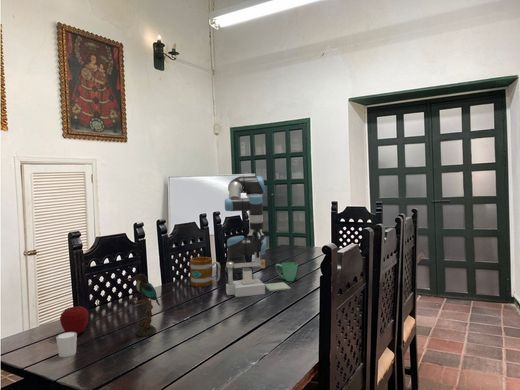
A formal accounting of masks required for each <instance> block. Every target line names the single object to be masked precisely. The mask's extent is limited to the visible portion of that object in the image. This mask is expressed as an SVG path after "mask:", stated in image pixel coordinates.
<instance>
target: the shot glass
mask: <svg viewBox="0 0 520 390" xmlns="http://www.w3.org/2000/svg"><path fill="white" fill-rule="evenodd" d="M77 336H78V334H77V333H75V332H66V333H65V332H63V333H60V334H58V335H56V337H55V338H56V345H57V352H58V356H59V357H60V358H69V357H72V356H74V355H75V354H76V353H77V341H78V340H77Z"/></svg>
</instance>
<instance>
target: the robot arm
mask: <svg viewBox="0 0 520 390" xmlns="http://www.w3.org/2000/svg"><path fill="white" fill-rule="evenodd" d="M265 188H266V187H265V182H264V177H262V176H260V175H249V176H248V175H245V176H244V175H243V176H241V175H240V176H237V177H235V178H233V179H232V180H230V182H229V183H228V186H227V190H228V198H224V210H225V211H226V212H244V211H245V212H248V221H249V222H248V226H249V228H248V229H249V232H248V234H247V236H246V237H245V236H244V235H235V236H231V237H229V238H228V239H227V240H226V242H227V243H226V246H227V247H226V248H227V260H226V263H227V262H234V264H237V263H247V261H246V256H254V262H260V260H261V255H265V253H266V251H267V250H266V248H267V237H265V234H264V233H263V229H264V223H263V222H264V214H263V213H264V211H263V210H264V209H263V207H264V206H263V202H264V201H263V196H264V193H266V189H265ZM241 194H245V196H246V198H245V197H244V198H243V197H241ZM243 268H249V267H240V268H234V267H232V272H233V274H241V273H242V274H243ZM224 271H225V273H227V274H228V268H227V267H226V266H225V270H224Z"/></svg>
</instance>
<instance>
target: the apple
mask: <svg viewBox="0 0 520 390" xmlns="http://www.w3.org/2000/svg"><path fill="white" fill-rule="evenodd" d="M89 315H90V314H89V312H88V309H87V308H85V307H83V306H80V305H79V306H78V305H77V306H71V307H68V308H65V309H64V311H62V312H61V314H60V317H59V321H60V324H61V327H62V329H63V331H64V333H66V332H75V333H77V335H79V334H81V333H82V332H83V331H85V329H86V327H87V324H88V322H89V317H90V316H89Z"/></svg>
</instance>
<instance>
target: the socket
mask: <svg viewBox="0 0 520 390" xmlns="http://www.w3.org/2000/svg"><path fill="white" fill-rule="evenodd" d="M233 275H234V273H233V272H232V268H228V273H227V276H228V277H227V278H228V283H226V284H225V291H226V296H231V295H233V296H235V297H236V298H239V297H241V298H242V297H248V296H249V297H250V296H258V295H265V294H266V287H265V285H264V284H265V283H264V282H263V281H261V280H260V279H259V278H252V280H253V281H254V283H253V284H247V285H243V284H242V282H241V280H242V279H239V280H234V279H233V278H234V277H233Z"/></svg>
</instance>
